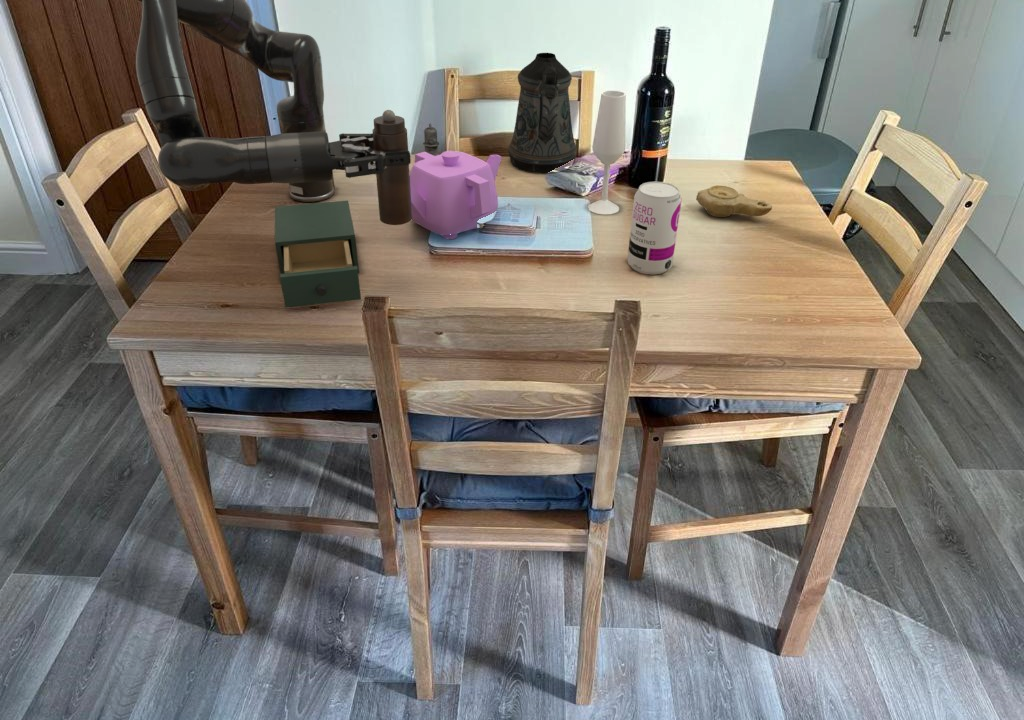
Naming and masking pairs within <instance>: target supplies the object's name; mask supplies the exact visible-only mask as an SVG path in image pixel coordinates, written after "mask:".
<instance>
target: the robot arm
mask: <svg viewBox="0 0 1024 720" xmlns="http://www.w3.org/2000/svg"><path fill="white" fill-rule="evenodd" d="M135 1H136V2H139V3H141V4H142V12H141V21H140V22H141V23H140V28H139V35H138V41H137V42H138V43H137V47H136V52H135V53H136V55H135V69H136V70H135V71H136V77H137V81H138V85H139V88H140V92H141V95H142V99H143V102H144V106H145V110H146V112H147V115H148V117H149V120H150V122H151V123H152V125H153V126H154V128H155V130H156V133H157V135H158V139H159V142H160V146H161V149H160V151H159V153H158V157H157V163H158V166H159V170H160V172H161V174H162V175H163V176H164V177H165V178H166V179H167V180H168V181H169V182H170V183H171V184H173V185H175V186H177V187H178V188H180V189H182V190H185V191H189V192H197V191H201V190H204V189H206V188H207V187H208V186H209V185H210V184H223V183H235V184H238V185H260V184H262V185H263V184H272V183H273V184H288V188H289V195H290V198H291V199H292V200H295V201H297V202H302V203H317V202H322V201H325V200H328V199H330V198H331V197H333V196H334V193H335V189H336V188H335V187H336V185H335V179H334V178H335V177H334V170H339V171H344V172H345V178H350V179H351V178H358V177H365V176H371V175H376V174H379V173H383V172H384V169H385V168H387V166H400V165H409V166H410V164H411V163H412V162H411V160H412V159H411V153H410V150H409V149H408V150H397V151H386V152H384V151H374V143H373V132H371V133H339V134H338V137H339V140H337V141H336V140H335V141H331V142H329V135H328V132H327V129H326V128H327V127H326V122H325V115H324V101H325V90H324V89H325V87H324V77H323V62H322V61H323V60H322V55H321V51H320V47H319V44H318V42H317V40H316V39H315V38H314V37H313V36H312V35H309V34H306V33H297V32H288V31H280V30H274V29H271V28H268V27H266V26H264V25H262V24H261V23H259V22H257V21H256V20H255V17H254V13H253V11H252V9H251V6H250V5H249V4H248V2H247V1H246V0H135ZM180 23H181V24H183V25H185V26H187V27H188V28H190V29H192V30H193V31H195V32H196V33H198V34H199V35H201V36H203V37H204V38H205V39H208V40H210V41H211V42H214V43H215V44H217V45H219V46H221V47H223V48H225V49H227V50H229V51H230V52H232V53H234V54H237V55H238V56H240V57H242V58H243V59H245V60H246V61H247V62H249V63H250V64H252V65H253V66H254V67H255V68H256V69H258V70H259V71H260V72H261V73H263V74H264V75H265V76H267V77H269V78H270V79H273V80H275V81H279V82H286V83H293V95H290V96H287V97H284V98H282V99H281V100H279V101H278V102H277V103H276V112H277V113H276V114H277V119H278V126H279V132H280V133H276V134H273V135H266V136H265V135H264V136H248V137H246V136H245V137H240V138H239V137H238V138H224V137H208V136H207V137H206V133H205V131H204V128H203V126H202V123H201V121H200V117H199V111H198V107H197V102H196V99H195V95H194V91H193V88H192V84H191V80H190V77H189V72H188V69H187V66H186V61H185V58H184V52H183V45H182V39H181V32H180Z"/></svg>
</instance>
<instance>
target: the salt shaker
mask: <svg viewBox="0 0 1024 720" xmlns="http://www.w3.org/2000/svg"><path fill="white" fill-rule="evenodd" d="M423 135H424V142H423V143H422V144H423V146H424V152H427V153H429V154H431V155H434V156H437V155H440V154H439V145H440V142H439V141H438V131H437V129H436V128H435V127H433V126H432V123H429V124H428V127H425V128H424V131H423Z"/></svg>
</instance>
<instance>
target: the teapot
mask: <svg viewBox="0 0 1024 720" xmlns="http://www.w3.org/2000/svg"><path fill="white" fill-rule="evenodd" d="M501 161H502V156H501V155H499V154H489V156H488V159H487V160H486V161H484V160H483V159H481V158H479V157H476V156H474V155H471V154H469V153H466V152H463V151H456V150H445V151H442V152H441V154H439V155H437V156H434V155H431V154H429V153H427V152H425V151H421V152H418V153H415V154H414V163H413V164H412V167H411V170H410V189H411V206H412V220H411V221H413V222H414V223H416V224H417V225H419V226H420V227H422V228H424V229H425V230H428V231H430V232H432V231H433V232H432V233H434V232H435V233H434V234H436V233H437V235H439V234H440V236H441V237H442V238H443V239H445V240H454V239H457V237H458V234H459V233H463V232H467V231H470V230H473V229H474V230H479V229H478V228H477V221H478V220H479V219H481V218H483V217H486V216H488V215H490V214H492V213H494V212H495V211H498V209H499V198H498V191H497V185H496V178H497V176H498V171H499V168H500V165H501ZM450 234H451V235H450Z"/></svg>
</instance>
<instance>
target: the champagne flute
mask: <svg viewBox="0 0 1024 720" xmlns="http://www.w3.org/2000/svg"><path fill="white" fill-rule="evenodd" d="M626 97H627V95H626V93H625V92H624V91H620V90H611V89H610V90H609V89H608V90H603V91H602V92H601V94H600V100H599V105H598V112H597V118H596V123H595V124H596V125H595V129H594V134H593V141H592V152H593V154H594V155H595V157H596V158H597V160H598V161H600V162H601V163H602V164H603V166H604V167H603V176H602V177H603V179H602V187H601V199H599V200H596V201H594V202H592V203H590V204H589V205H588V206H587V209H588V210H589V211H590V212H591V213H594V214H596V215H597V214H598V215H613V214H616V213H618V212H619V210H620V207H619V206H618V205H617V204H616V203H613V202H612V201H610V200H609V199H608V193H609V182H610V172H611V165H612V164H614V163H615V162H617V161H619V160H620V159H621V157H622V156H624V154H625V152H626V117H627V116H626V114H627V113H626V112H627V111H626V108H627V107H626V106H627V105H626V104H627V103H626V99H627V98H626Z"/></svg>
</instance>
